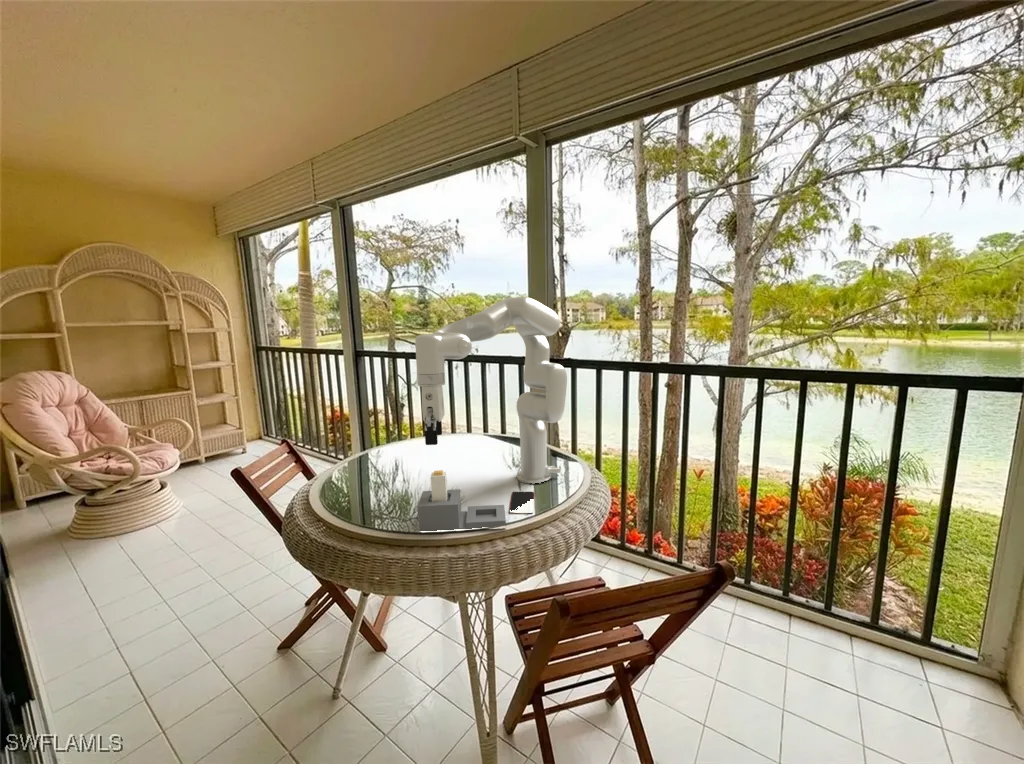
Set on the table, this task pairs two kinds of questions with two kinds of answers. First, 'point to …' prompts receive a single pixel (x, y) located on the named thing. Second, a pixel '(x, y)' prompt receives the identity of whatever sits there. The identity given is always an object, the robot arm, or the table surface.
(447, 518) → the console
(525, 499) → the smartphone
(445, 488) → the plug
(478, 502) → the table surface
